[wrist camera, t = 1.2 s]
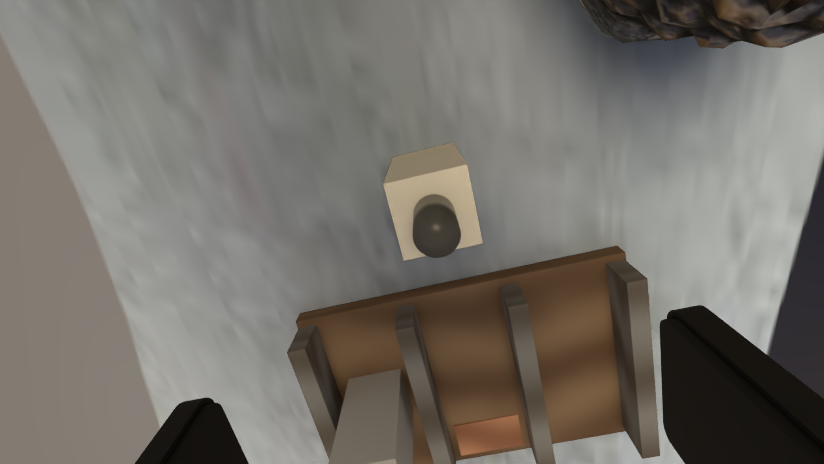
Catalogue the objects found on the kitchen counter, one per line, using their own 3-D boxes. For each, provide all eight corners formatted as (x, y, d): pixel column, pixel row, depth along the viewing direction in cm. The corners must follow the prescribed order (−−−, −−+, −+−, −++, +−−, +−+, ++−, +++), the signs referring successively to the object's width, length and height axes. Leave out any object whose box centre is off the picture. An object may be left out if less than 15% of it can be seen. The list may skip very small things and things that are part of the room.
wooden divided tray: (300, 313, 31) (283, 346, 27) (617, 245, 29) (648, 270, 25) (356, 465, 36) (349, 513, 32) (633, 416, 34) (661, 460, 30)
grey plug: (348, 378, 32) (314, 521, 21) (400, 368, 31) (392, 509, 21) (363, 420, 33) (338, 575, 23) (413, 411, 33) (411, 563, 22)
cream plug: (392, 157, 28) (377, 200, 17) (453, 142, 27) (475, 177, 17) (407, 214, 29) (401, 287, 18) (465, 201, 28) (493, 268, 18)
